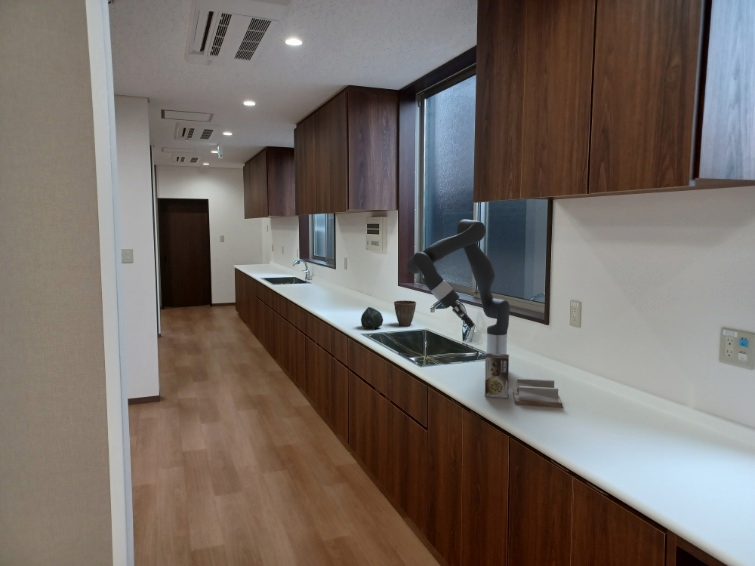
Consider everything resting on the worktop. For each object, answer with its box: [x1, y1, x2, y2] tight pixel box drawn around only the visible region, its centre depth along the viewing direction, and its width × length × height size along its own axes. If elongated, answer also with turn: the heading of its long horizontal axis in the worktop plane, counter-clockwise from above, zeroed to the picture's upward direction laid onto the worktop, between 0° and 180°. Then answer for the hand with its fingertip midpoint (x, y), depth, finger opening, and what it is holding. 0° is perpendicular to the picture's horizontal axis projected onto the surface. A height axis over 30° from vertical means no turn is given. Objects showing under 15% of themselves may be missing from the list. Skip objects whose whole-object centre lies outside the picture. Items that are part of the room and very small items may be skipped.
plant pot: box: [393, 300, 417, 327], centre depth 351 cm, size 15×15×16 cm
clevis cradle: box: [512, 377, 563, 408], centre depth 201 cm, size 14×17×6 cm
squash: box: [360, 306, 384, 330], centre depth 342 cm, size 14×15×15 cm
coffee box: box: [484, 353, 510, 399], centre depth 206 cm, size 9×6×16 cm
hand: (471, 325), depth 207 cm, fingers open, 8 cm apart
